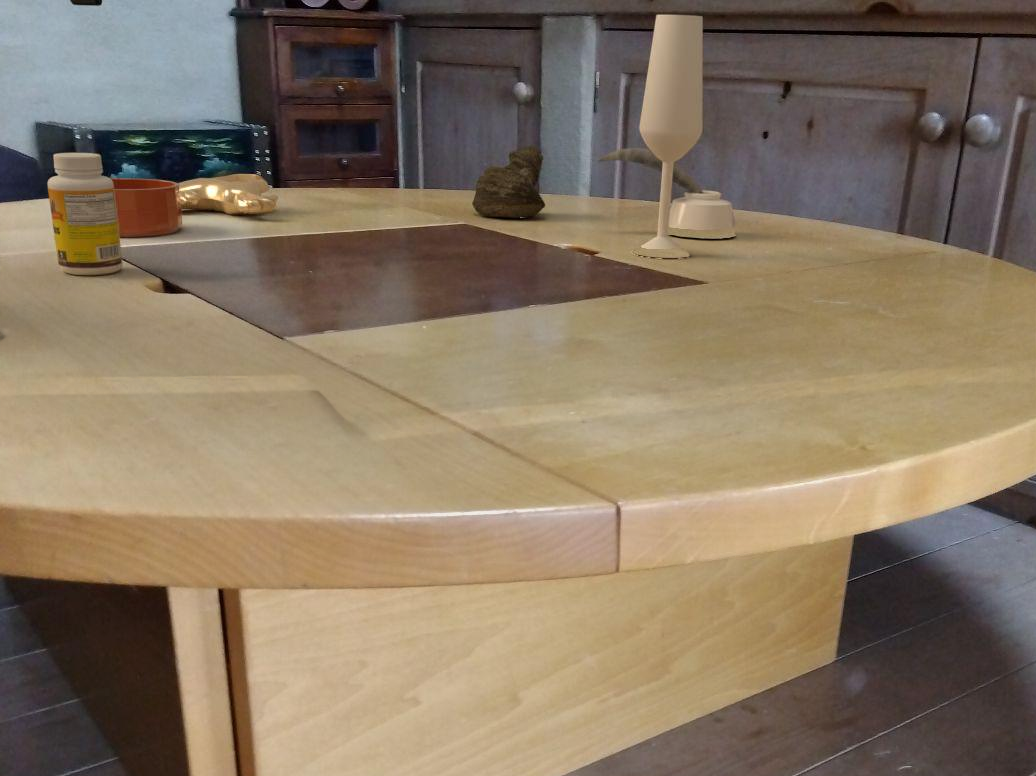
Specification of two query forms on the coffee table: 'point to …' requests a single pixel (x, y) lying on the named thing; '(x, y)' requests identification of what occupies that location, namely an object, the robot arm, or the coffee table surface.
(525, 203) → the brown irregular lump
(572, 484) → the coffee table surface
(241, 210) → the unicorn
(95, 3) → the robot arm
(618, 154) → the inkwell
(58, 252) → the supplement bottle
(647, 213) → the coffee table surface
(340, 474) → the coffee table surface
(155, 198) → the bowl
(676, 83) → the champagne flute
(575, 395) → the coffee table surface
